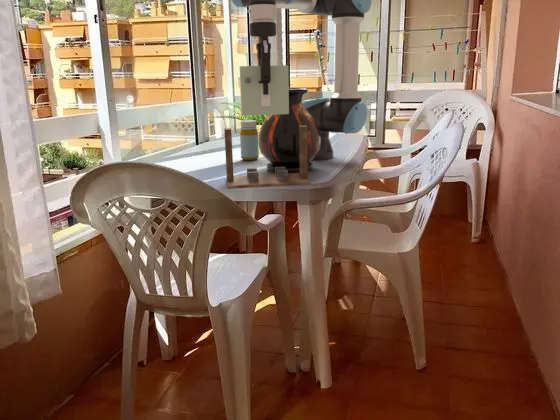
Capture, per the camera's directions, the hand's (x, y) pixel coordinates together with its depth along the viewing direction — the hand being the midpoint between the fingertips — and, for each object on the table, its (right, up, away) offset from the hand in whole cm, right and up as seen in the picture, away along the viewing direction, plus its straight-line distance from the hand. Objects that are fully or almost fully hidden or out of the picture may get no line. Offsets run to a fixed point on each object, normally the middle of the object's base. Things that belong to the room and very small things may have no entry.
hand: (265, 105), depth 148 cm
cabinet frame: (0, -23, +7) cm, 24 cm away
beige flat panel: (0, -3, +1) cm, 3 cm away
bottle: (-8, -11, +49) cm, 51 cm away
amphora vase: (+8, -17, +27) cm, 33 cm away
